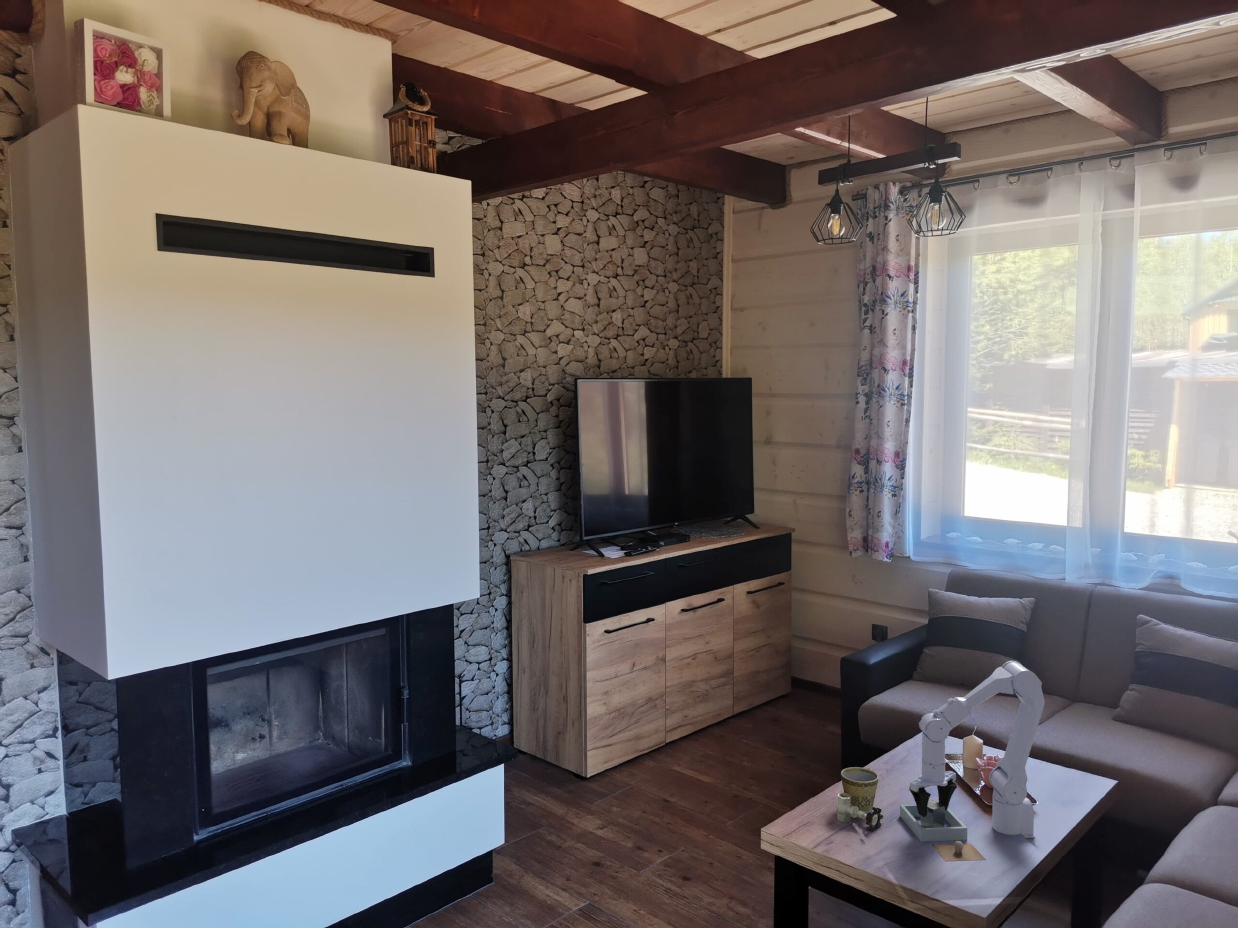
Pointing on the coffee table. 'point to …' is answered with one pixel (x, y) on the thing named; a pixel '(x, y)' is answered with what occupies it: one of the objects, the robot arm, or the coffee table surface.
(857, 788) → the ceramic cup
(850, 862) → the coffee table surface
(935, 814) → the grey rectangular block
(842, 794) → the valve
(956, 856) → the stud block
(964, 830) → the bin
